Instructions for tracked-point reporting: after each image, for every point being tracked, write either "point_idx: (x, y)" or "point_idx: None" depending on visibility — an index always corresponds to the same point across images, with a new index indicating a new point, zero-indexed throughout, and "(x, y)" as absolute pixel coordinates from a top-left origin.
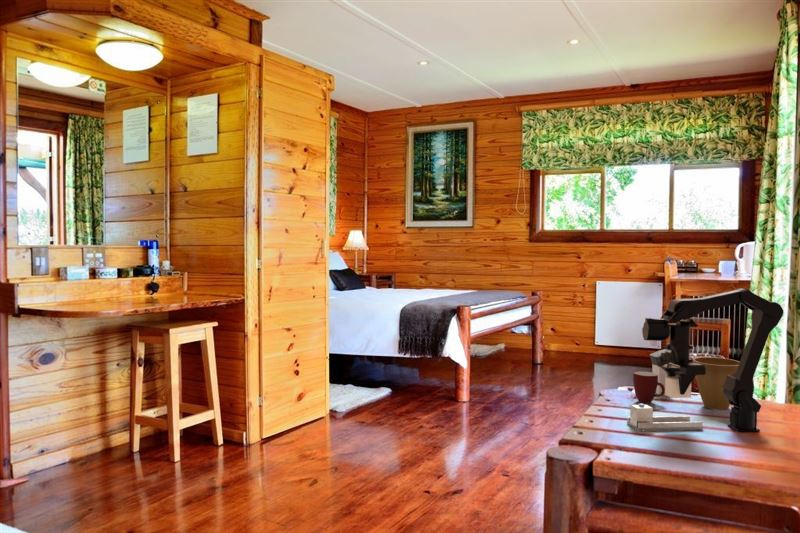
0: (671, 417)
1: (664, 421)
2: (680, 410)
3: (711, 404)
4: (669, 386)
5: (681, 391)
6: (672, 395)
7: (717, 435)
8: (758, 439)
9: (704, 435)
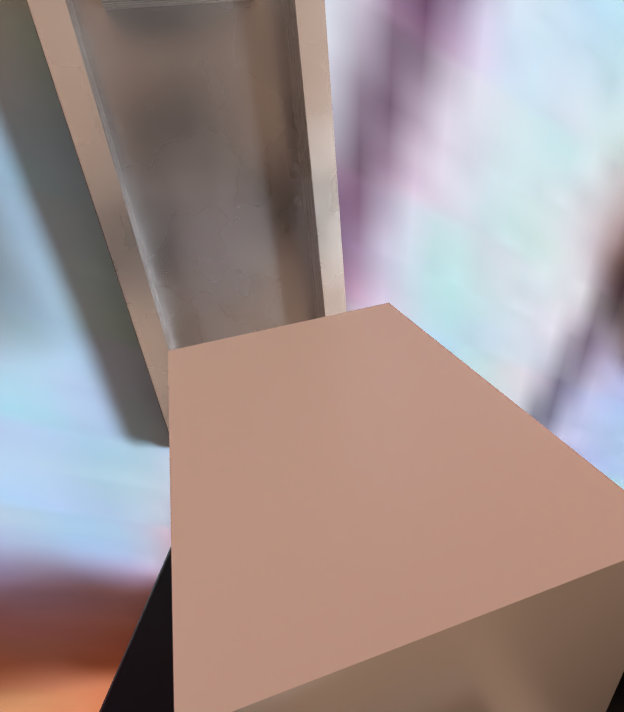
0: (323, 302)
1: (306, 231)
2: (574, 431)
3: None
4: (313, 434)
5: (167, 562)
6: (171, 375)
7: (45, 500)
8: (23, 661)
9: (13, 425)
